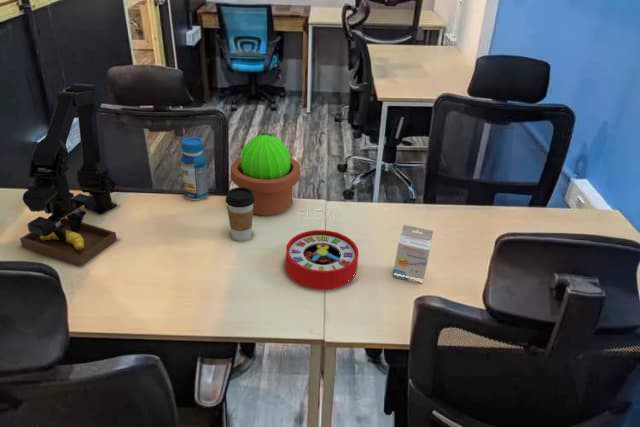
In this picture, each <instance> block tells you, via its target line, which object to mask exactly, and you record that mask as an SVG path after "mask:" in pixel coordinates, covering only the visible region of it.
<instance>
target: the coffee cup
mask: <svg viewBox="0 0 640 427" xmlns="http://www.w3.org/2000/svg"><path fill="white" fill-rule="evenodd" d="M254 198H255V197H254V195H253V192H252V190H250V189H248V188H244V187H239V186H237V187H234V188H231V189H230V190H228V191H227V192H226V197H225V203H226V205H227V206H226V209H227V210H226V211H227V215H228V216H227V217H228V222H229V227H230V234H231V238H232V239H233V240H235V241H239V242H244V241H248V240H249V239H250V238H251V237H252V231H253V230H252V229H253V228H252V227H253V221H254V220H253V218H254V214H253V209H254V206H253V203H254V201H255V199H254Z"/></svg>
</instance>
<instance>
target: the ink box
mask: <svg viewBox="0 0 640 427" xmlns="http://www.w3.org/2000/svg"><path fill="white" fill-rule="evenodd" d="M417 231H418V232H419V233H418V232H417ZM433 234H434V231H433V230H431V229H426V228H422V227H418V226H413V225H408V224H403V225H402V231H401V234H400V237H399V241H398V244H397V250H396V255H395V261H394V267H393V272H394V273H397V274H401V275H405V276H409V277H415V278H420V279H425V275H426V271H427V267H428V262H429V257H430V252H431V249H432V248H431V247H432V243H433V241H432V239H433ZM392 277H393V278H396V279H400V280H404V281H408V282H412V283H415V284H416V283H417V284H419V283H418V282H419V281H416V280H415V281H414V279H410V278H406V277H401V276H397V275H394V274H393V273H392Z"/></svg>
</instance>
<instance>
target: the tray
mask: <svg viewBox="0 0 640 427" xmlns="http://www.w3.org/2000/svg"><path fill="white" fill-rule="evenodd" d="M61 224H62V225H65V226H66V230H69V231H71V228H70V225H69V221H68V218H67V216H66V217H65V218H63V219H61ZM78 234H80V235H81V236H82V238H83V239H84V248H83V249H82V251H80V252H79V250H76V249H75V248H74V245H73V244H70V243H67V242H66V243H62V242H61V241H60V240H46V241H39V240H38V238H39V237H40V236H41V235H38V234H35V233H32V232H28V233H27V234H25V235H23V236H21V237H20V238H19V242H20V244H21V247H23V248H25V249H28V250H31V251H34V252H36V253H40V254H42V255H45V256H49V257H51V258H54V259H57V260H60V261H63V262H66V263H69V264H72V265H75V266H77V267H81V268H82V266H85V264H86V263H88V262H89V261H91V260H92V259H93V258H95V257H96V256H97V255H99V254H101V253H102V252H103V251H104V250H106V249H107V248H108V247H110V246H111V245H112V244H114V243H116V242H117V241H118V240H117V239H118V238H117V234H116V231H112V230H109V229H105V228H102V227H99V226H96V225H92V224H89V223H86V222H83V221H82V222H81V225H80V227H79V230H78Z"/></svg>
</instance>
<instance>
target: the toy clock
mask: <svg viewBox="0 0 640 427" xmlns="http://www.w3.org/2000/svg"><path fill="white" fill-rule="evenodd" d="M339 253H340V254H339ZM358 260H359V248H358V246H357V244H356V243H355V242H354V241H353V240H352V239H351V238H350V237H348V236H346V235H344V234H342V233H339V232H337V231H332V230H325V229H314V230H312V229H311V230H307V231H303V232H300V233H299V234H296V235H295V236H292V238H291V239H290V240H289V241H288V242H287V244H286V248H285V272H286V274H287V276H289V278H290V279H291V280H292V281H293V282H295V283H296V284H298V285H299V286H302V287H305V288H308V289H311V290H318V291H329V290H335V289H339V288H342V287H345V286H346V285H348V284H350V283H351V282H352V281H353V280H354V279H355V277H356V275H357V270H358V262H359V261H358ZM355 272H356V273H355ZM354 274H355V275H354ZM353 275H354V276H353ZM348 280H349V281H348Z"/></svg>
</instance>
